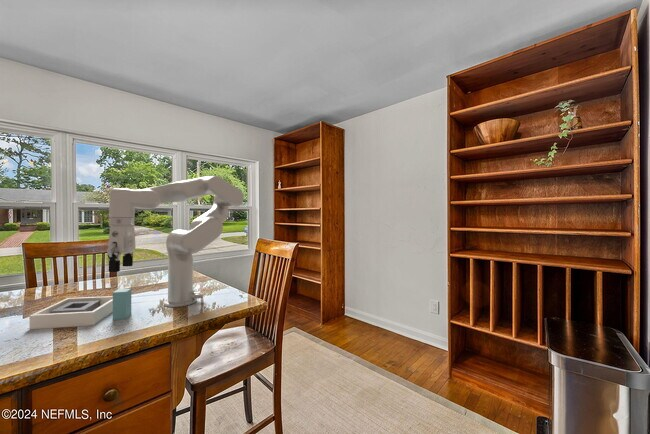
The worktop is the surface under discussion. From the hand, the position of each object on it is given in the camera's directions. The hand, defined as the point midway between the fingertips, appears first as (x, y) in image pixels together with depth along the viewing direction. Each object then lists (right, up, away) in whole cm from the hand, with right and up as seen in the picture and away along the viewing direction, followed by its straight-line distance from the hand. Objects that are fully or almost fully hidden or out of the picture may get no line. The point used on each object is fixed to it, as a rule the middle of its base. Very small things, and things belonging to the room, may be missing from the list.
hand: (121, 268), depth 100 cm
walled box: (-16, -18, 0) cm, 24 cm away
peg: (0, -18, +1) cm, 18 cm away
